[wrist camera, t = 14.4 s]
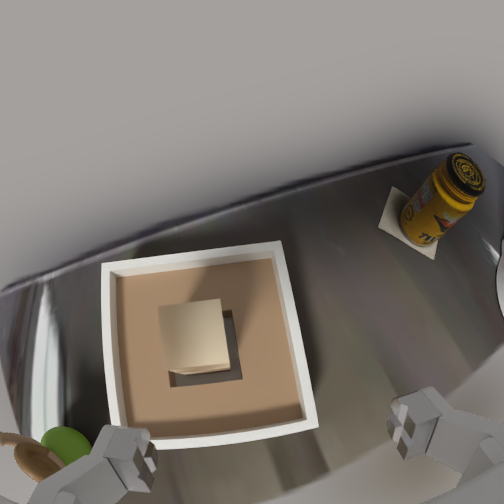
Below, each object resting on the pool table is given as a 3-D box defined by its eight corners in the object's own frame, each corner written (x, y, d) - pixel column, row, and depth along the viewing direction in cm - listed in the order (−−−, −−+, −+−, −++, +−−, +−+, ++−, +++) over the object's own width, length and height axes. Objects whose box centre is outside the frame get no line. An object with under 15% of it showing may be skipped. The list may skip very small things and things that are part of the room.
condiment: (433, 260, 34) (492, 210, 23) (377, 227, 35) (425, 164, 24) (441, 218, 37) (491, 165, 26) (391, 187, 38) (431, 124, 27)
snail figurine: (62, 408, 24) (-13, 407, 13) (110, 446, 23) (47, 469, 12) (44, 444, 22) (-29, 455, 11) (91, 482, 21) (27, 515, 10)
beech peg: (224, 328, 28) (220, 298, 19) (230, 370, 27) (229, 361, 18) (181, 333, 28) (157, 306, 19) (187, 375, 26) (163, 369, 17)
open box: (273, 264, 32) (280, 240, 27) (303, 420, 26) (318, 426, 21) (120, 283, 30) (101, 263, 25) (135, 439, 24) (115, 449, 19)
